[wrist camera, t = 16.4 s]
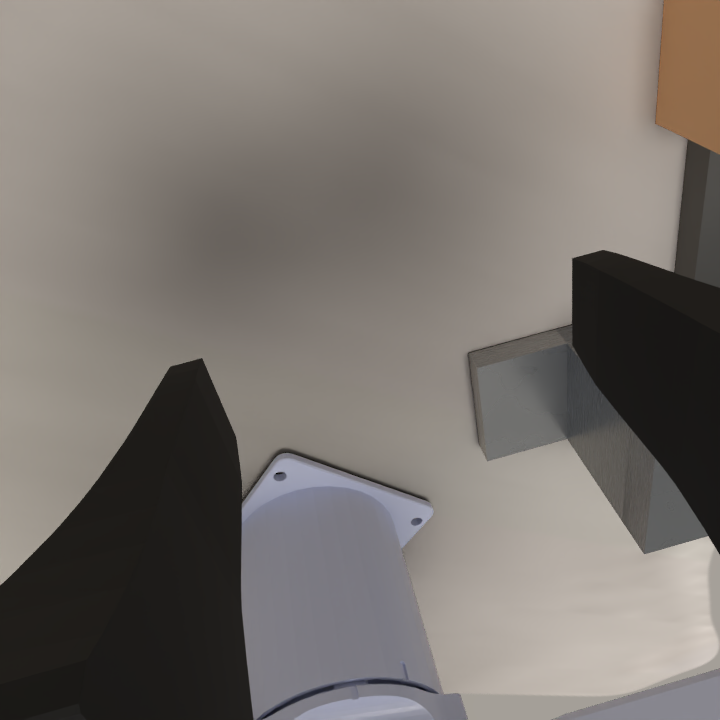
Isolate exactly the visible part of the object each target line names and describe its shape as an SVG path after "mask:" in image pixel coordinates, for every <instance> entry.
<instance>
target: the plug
mask: <svg viewBox="0 0 720 720" xmlns="http://www.w3.org/2000/svg"><path fill="white" fill-rule="evenodd" d="M655 124H658V125H660V126H662V127H664V128H666V129H668V130H670V131H672V132H674V133H676V134H678V135H680V136H682V137H684V138H686V139H688V145H687V155H686V165H685V175H684V185H683V194H682V204H681V214H680V224H679V234H678V244H677V254H676V264H675V273H676V274H679V275H682V276H685V277H688V278H691V279H694V280H697V281H700V282H703V283H706V284H709V285H712V286H716V287H719V288H720V0H664V8H663V23H662V37H661V51H660V65H659V80H658V94H657V108H656V123H655Z"/></svg>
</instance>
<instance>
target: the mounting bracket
mask: <svg viewBox="0 0 720 720" xmlns="http://www.w3.org/2000/svg"><path fill="white" fill-rule="evenodd" d="M469 362H470V370H471V378H472V387H473V395H474V404H475V412H476V421H477V429H478V438H479V445H480V447H481V449H482V451H483V453H484V455H485V458H486V460H487V461H490V460H493V459H497V458H500V457H504V456H507V455H511V454H515V453H518V452H522V451H525V450H529V449H533V448H536V447H540V446H543V445H547V444H550V443H554V442H558V441H561V440H565V439H568V441H569V442H570V444H571V445H572V447H573V448H574V450H575V451H576V453H577V454H578V456H579V457H580V459H581V460H582V462H583V463H584V465H585V466H586V468H587V469H588V471H589V472H590V474H591V475H592V477H593V478H594V480H595V481H596V483H597V484H598V486H599V487H600V489H601V490H602V492H603V493H604V495H605V496H606V498H607V499H608V501H609V502H610V504H611V505H612V507H613V508H614V510H615V511H616V513H617V514H618V516H619V517H620V519H621V520H622V522H623V523H624V525H625V526H626V528H627V529H628V531H629V532H630V534H631V535H632V537H633V538H634V540H635V541H636V543H637V544H638V546H639V547H640V549H641V550H642V552H643V553H644V554H647V553H650V552H654V551H657V550H661V549H664V548H668V547H671V546H675V545H678V544H682V543H685V542H689V541H692V540H696V539H699V538H703V537H706V536H708V534H707V533H706V531H705V529H704V528H703V526H702V525H701V523H700V522H699V520H698V518H697V517H696V515H695V514H694V512H693V511H692V509H691V508H690V506H689V505H688V503H687V501H686V500H685V498H684V497H683V495H682V494H681V492H680V491H679V489H678V488H677V486H676V485H675V483H674V482H673V481H672V479H671V478H670V477H669V475H668V474H667V473H666V471H665V470H664V469H663V467H662V466H661V465H660V464H659V462H658V461H657V460H656V459H655V457H654V456H653V455H652V454H651V453H650V451H649V450H648V449H647V448H646V447H645V445H644V444H643V443H642V442H641V440H640V439H639V438H638V437H637V436H636V434H635V433H634V432H633V431H632V429H631V428H630V427H629V426H628V425H627V423H626V422H625V421H624V420H623V418H622V417H621V416H620V415H619V414H618V412H617V411H616V410H615V409H614V407H613V406H612V405H611V404H610V402H609V401H608V400H607V399H606V397H605V396H604V395H603V394H602V392H601V391H600V390H599V389H598V387H597V386H596V385H595V383H594V381H593V380H592V378H591V377H590V375H589V373H588V372H587V370H586V368H585V367H584V365H583V363H582V361H581V360H580V358H579V356H578V354H577V353H576V351H575V349H574V347H573V346H572V325H570V326H566V327H562V328H559V329H555V330H552V331H548V332H544V333H541V334H537V335H533V336H530V337H526V338H522V339H519V340H515V341H511V342H508V343H504V344H500V345H497V346H493V347H489V348H486V349H482V350H478V351H475V352H471V353H469Z"/></svg>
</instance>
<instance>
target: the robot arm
mask: <svg viewBox="0 0 720 720" xmlns="http://www.w3.org/2000/svg"><path fill="white" fill-rule="evenodd" d="M572 346H573V347H574V349H575V351H576V353H577V354H578V356H579V358H580V360H581V361H582V363H583V365H584V367H585V368H586V370H587V372H588V373H589V375H590V377H591V378H592V380H593V381H594V383H595V385H596V386H597V387H598V389H599V390H600V391H601V392H602V394H603V395H604V396H605V397H606V399H607V400H608V401H609V402H610V404H611V405H612V406H613V407H614V409H615V410H616V411H617V412H618V414H619V415H620V416H621V417H622V418H623V420H624V421H625V422H626V423H627V425H628V426H629V427H630V428H631V429H632V431H633V432H634V433H635V434H636V436H637V437H638V438H639V439H640V440H641V442H642V443H643V444H644V445H645V447H646V448H647V449H648V450H649V451H650V453H651V454H652V455H653V456H654V457H655V459H656V460H657V461H658V462H659V464H660V465H661V466H662V467H663V469H664V470H665V471H666V473H667V474H668V475H669V477H670V478H671V479H672V481H673V482H674V483H675V485H676V486H677V488H678V489H679V491H680V492H681V494H682V495H683V497H684V498H685V500H686V501H687V503H688V505H689V506H690V508H691V509H692V511H693V512H694V514H695V515H696V517H697V518H698V520H699V522H700V523H701V525H702V526H703V528H704V529H705V531H706V533H707V534H708V536H709V538H710V539H711V541H712V543H713V544H714V546H715V547H716V549H717V551H718V552H719V554H720V288H719V287H716V286H712V285H709V284H706V283H703V282H700V281H697V280H694V279H691V278H688V277H685V276H682V275H679V274H676V273H673V272H670V271H668V270H665V269H662V268H659V267H656V266H653V265H650V264H647V263H645V262H642V261H639V260H636V259H633V258H630V257H627V256H623V255H620V254H617V253H613V252H609V251H605V250H601V251H598V252H594V253H590V254H587V255H583V256H579V257H576V258H572ZM277 472H284V473H283V474H276V473H277ZM432 515H433V508H432V505H431V503H429V502H428V501H425V500H422V499H419V498H417V497H414V496H411V495H408V494H405V493H402V492H399V491H397V490H394V489H391V488H388V487H385V486H382V485H380V484H377V483H374V482H371V481H368V480H365V479H363V478H360V477H357V476H354V475H351V474H348V473H345V472H343V471H340V470H337V469H334V468H331V467H328V466H326V465H323V464H320V463H317V462H314V461H311V460H309V459H306V458H303V457H300V456H297V455H294V454H291V453H282V454H280V455H278V456H277V457H276V458H275V459H274V460H273V461H272V463H271V464H270V466H269V467H268V468H267V470H266V471H265V472H264V474H263V475H262V477H261V478H260V479H259V481H258V482H257V483H256V485H255V486H254V488H253V489H252V490H251V492H250V493H249V494H248V496H247V497H246V499H245V500H244V501H243V503H242V479H241V471H240V462H239V455H238V448H237V440H236V436H235V434H234V431H233V429H232V427H231V424H230V422H229V420H228V417H227V415H226V413H225V410H224V408H223V406H222V403H221V401H220V399H219V396H218V394H217V392H216V389H215V387H214V385H213V383H212V380H211V378H210V376H209V373H208V371H207V369H206V366H205V364H204V362H203V359H202V358H201V359H198V360H194V361H190V362H186V363H183V364H179V365H175V366H172V367H170V368H169V370H168V371H167V373H166V374H165V376H164V378H163V379H162V381H161V383H160V384H159V386H158V388H157V389H156V391H155V393H154V394H153V396H152V398H151V399H150V401H149V403H148V404H147V406H146V408H145V410H144V411H143V413H142V415H141V416H140V418H139V419H138V421H137V423H136V424H135V426H134V427H133V429H132V431H131V432H130V434H129V435H128V437H127V439H126V440H125V442H124V443H123V445H122V446H121V447H120V449H119V450H118V452H117V453H116V454H115V456H114V457H113V459H112V460H111V462H110V463H109V464H108V466H107V467H106V469H105V470H104V472H103V473H102V474H101V476H100V477H99V479H98V480H97V481H96V483H95V484H94V485H93V487H92V488H91V489H90V490H89V492H88V493H87V494H86V495H85V497H84V498H83V499H82V500H81V502H80V503H79V504H78V505H77V506H76V508H75V509H74V510H73V511H72V512H71V513H70V515H69V516H68V517H67V518H66V519H65V520H64V521H63V523H62V524H61V525H60V526H59V527H58V528H57V529H56V530H55V532H54V533H53V534H52V535H51V536H50V537H49V538H48V539H47V540H46V541H45V542H44V543H43V544H42V545H41V546H40V547H39V548H38V549H37V550H36V551H35V552H34V553H33V554H32V555H31V556H30V557H29V558H28V559H27V560H26V561H25V562H24V563H23V564H22V565H21V566H20V567H19V568H18V569H17V570H16V571H15V572H14V573H13V574H12V575H11V576H10V577H9V578H8V579H7V580H6V581H5V582H4V583H3V584H1V585H0V720H468V718H467V715H466V711H465V708H464V705H463V702H462V699H461V695H460V694H458V693H454V694H444V693H443V690H442V686H441V683H440V679H439V676H438V673H437V669H436V666H435V662H434V659H433V655H432V652H431V649H430V645H429V642H428V638H427V635H426V631H425V628H424V625H423V621H422V618H421V614H420V611H419V607H418V604H417V601H416V597H415V594H414V590H413V587H412V583H411V580H410V577H409V573H408V570H407V566H406V563H405V559H404V556H403V552H402V548H403V547H404V546H405V545H406V544H407V543H408V542H409V540H410V539H411V538H412V537H413V536H414V535H415V534H416V533H417V532H418V531H419V530H420V528H421V527H422V526H423V525H424V524H425V523H426V522H427V521H428V520H429V519H430V518H431V516H432ZM414 518H416V519H414ZM552 720H720V669H716V670H713V671H710V672H706V673H703V674H699V675H696V676H693V677H689V678H686V679H682V680H679V681H676V682H672V683H669V684H665V685H662V686H659V687H655V688H652V689H648V690H645V691H642V692H638V693H635V694H631V695H628V696H624V697H621V698H618V699H614V700H611V701H608V702H604V703H601V704H597V705H594V706H591V707H588V708H584V709H580V710H577V711H574V712H570V713H567V714H564V715H562V716H559V717H557V718H555V719H552Z"/></svg>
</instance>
